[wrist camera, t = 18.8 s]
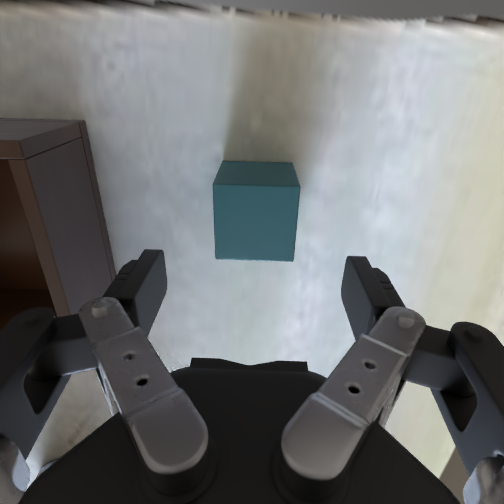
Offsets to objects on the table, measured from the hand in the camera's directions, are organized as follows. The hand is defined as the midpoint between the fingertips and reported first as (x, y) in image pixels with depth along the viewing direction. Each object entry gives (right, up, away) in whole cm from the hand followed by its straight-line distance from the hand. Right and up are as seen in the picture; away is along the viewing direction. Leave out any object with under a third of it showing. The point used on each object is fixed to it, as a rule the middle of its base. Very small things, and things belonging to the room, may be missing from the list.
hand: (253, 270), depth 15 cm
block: (0, +5, +9) cm, 10 cm away
